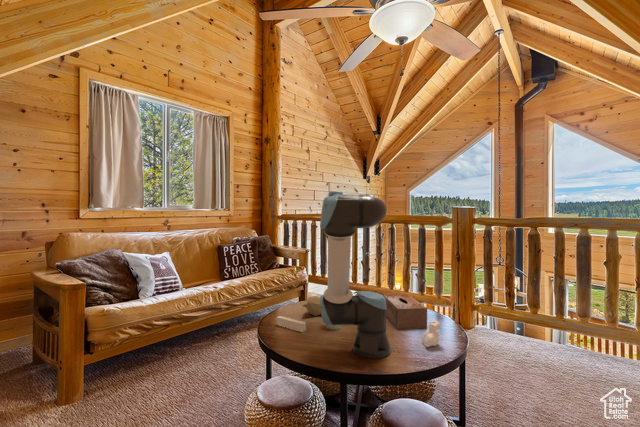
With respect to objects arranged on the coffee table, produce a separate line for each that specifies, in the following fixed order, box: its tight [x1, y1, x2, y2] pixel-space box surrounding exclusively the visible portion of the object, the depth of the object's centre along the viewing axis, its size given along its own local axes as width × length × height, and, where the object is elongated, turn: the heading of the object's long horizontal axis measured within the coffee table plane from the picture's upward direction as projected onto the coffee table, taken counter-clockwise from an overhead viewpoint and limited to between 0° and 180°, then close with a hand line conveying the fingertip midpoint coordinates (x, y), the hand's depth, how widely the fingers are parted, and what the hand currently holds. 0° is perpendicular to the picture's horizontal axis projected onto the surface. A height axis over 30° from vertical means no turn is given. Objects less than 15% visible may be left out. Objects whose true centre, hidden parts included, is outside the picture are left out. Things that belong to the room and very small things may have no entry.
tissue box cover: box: [382, 293, 428, 330], centre depth 168 cm, size 26×14×10 cm, turn 6°
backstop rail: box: [276, 315, 307, 333], centre depth 155 cm, size 2×16×4 cm, turn 56°
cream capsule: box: [306, 292, 318, 303], centre depth 191 cm, size 6×6×7 cm
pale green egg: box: [325, 324, 343, 331], centre depth 157 cm, size 8×8×9 cm
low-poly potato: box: [305, 295, 322, 317], centre depth 175 cm, size 15×11×12 cm
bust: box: [421, 320, 442, 348], centre depth 137 cm, size 12×8×11 cm
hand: (335, 266), depth 166 cm, fingers closed
